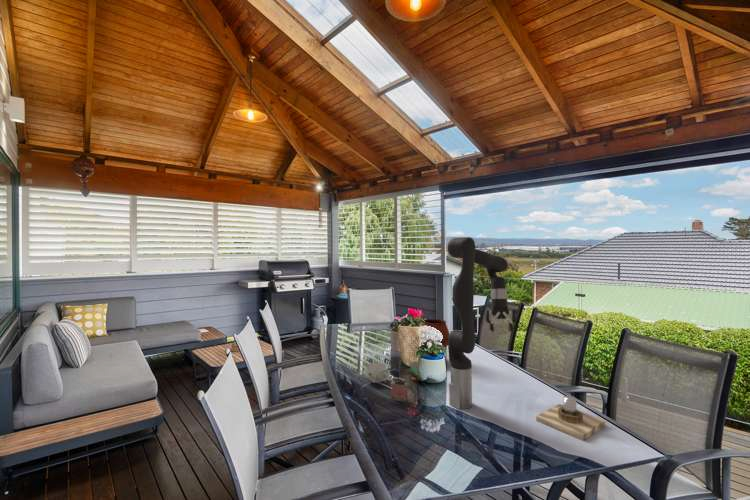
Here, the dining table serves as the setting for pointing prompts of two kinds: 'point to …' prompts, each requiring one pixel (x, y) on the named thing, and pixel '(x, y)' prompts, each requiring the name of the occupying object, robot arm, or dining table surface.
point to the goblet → (439, 328)
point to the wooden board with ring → (571, 422)
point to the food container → (415, 371)
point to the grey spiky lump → (376, 372)
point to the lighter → (399, 389)
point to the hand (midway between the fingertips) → (501, 331)
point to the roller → (570, 405)
